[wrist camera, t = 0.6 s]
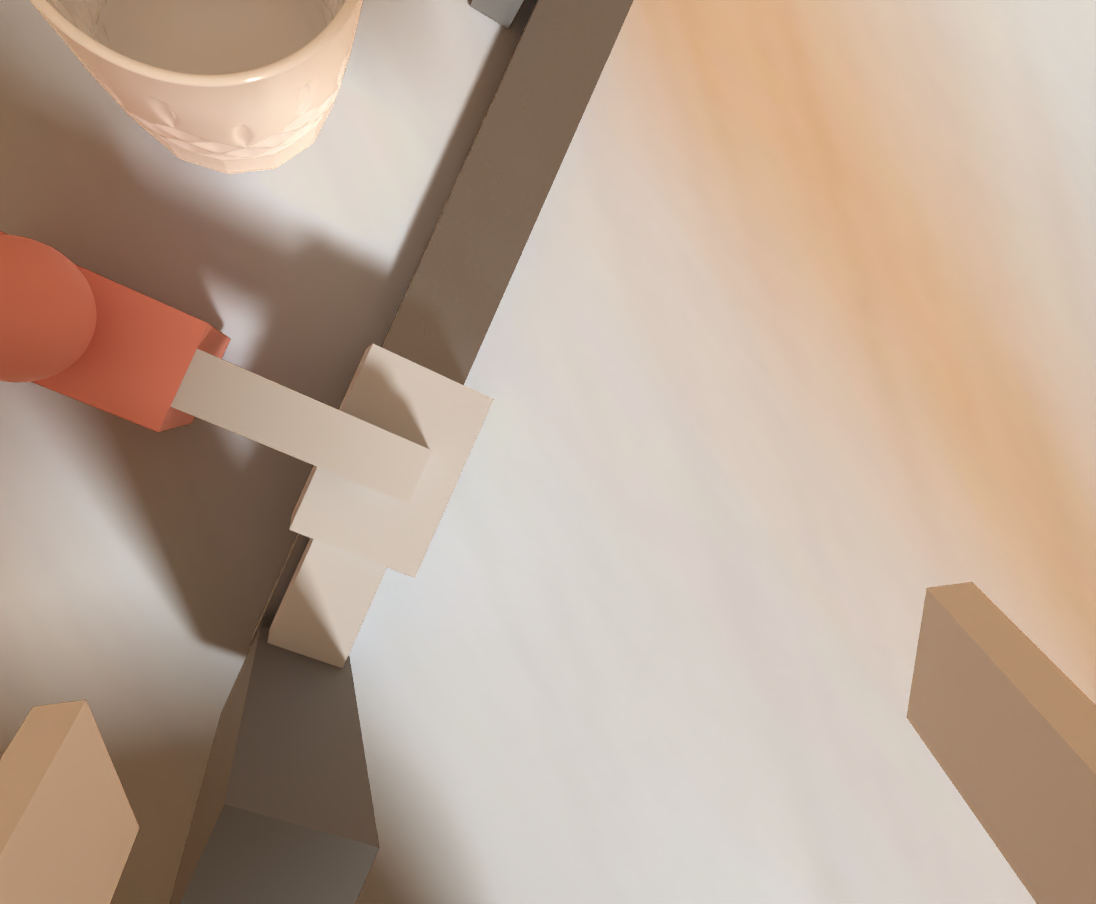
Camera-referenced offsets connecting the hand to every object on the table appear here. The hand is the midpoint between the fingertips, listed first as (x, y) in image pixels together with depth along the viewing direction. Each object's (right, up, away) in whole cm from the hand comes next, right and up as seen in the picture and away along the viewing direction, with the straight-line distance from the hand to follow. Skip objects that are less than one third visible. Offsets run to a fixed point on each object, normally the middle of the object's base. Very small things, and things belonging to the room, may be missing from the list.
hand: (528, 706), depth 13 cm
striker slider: (-11, +3, +14) cm, 18 cm away
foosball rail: (-3, +11, +16) cm, 20 cm away
